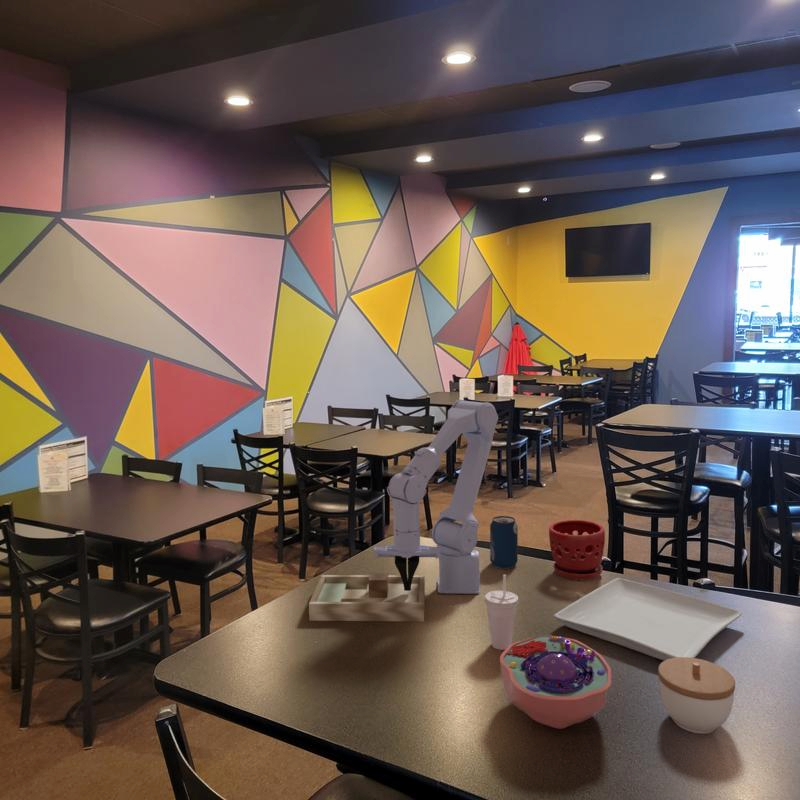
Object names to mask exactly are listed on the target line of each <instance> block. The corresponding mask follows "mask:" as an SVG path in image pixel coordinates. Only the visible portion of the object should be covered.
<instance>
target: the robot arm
mask: <svg viewBox="0 0 800 800" xmlns="http://www.w3.org/2000/svg"><path fill="white" fill-rule="evenodd" d="M445 420H446V421H445V422H444V423H443V424H442V426H441V428H440V429H439V431H438V432H437V433H436V435H435V436H434V438H433V439H432V441H431V442H430V444H429V445H428V447H421V448H420V449H417V450H416V451H415V453H414V454H415V455H414V456H413V457H412V459H411V460H410V461H409V462H408V464H407V465H406V466H405V467H404V468H403V469H402V471H401V472H398V473H396V474H394V475H393V476H392V477H391V478H390V480H389V483H388V486H386V492H387V494H388V496H389V497H390V498H391V499H390V500H391V506H392V508H393V510H392V511H393V512H392V513H393V517H392V518H393V520H392V521H393V545H385V546H374V547H373V559H380V558H394V565H395V567H396V568H397V570H398V573H399V574H400V575H401V578H402V581H403V585H404V591H411V583H412V579H413V576H414V575H415V573H416V571H417V568H418V567H419V563H420V558H435V559H438V563H439V564H438V567H439V568H438V569H439V571H438V573H439V576H438V578H437V593H438V594H457V595H458V594H467V595H468V594H471V595H472V594H473V595H474V594H480V583H481V575H480V555H479V551H478V550H474V549H475V548H476V545H477V543H478V530H479V521H478V520H477V518H476V517H475V516H474V514H473V512H474V507H475V504H476V501H477V497H478V494H479V490H480V487H481V484H482V480H483V476H484V473H485V469H486V467H487V466H486V465H487V462H488V460H489V459H488V458H489V455H490V451H491V449H492V445H493V440H494V439H493V438H494V435H495V430H496V427H497V424H498V420H499V415H498V413H497V410H496V408H495V406H494V405H493V404H492V403H491V402H478V401H471V400H470V401H469V400H465V399H457V400H455V402H453V404H452V406H451V407H450V408H449V409H448V410H447V419H445ZM461 434H462V435H463V437H464V438H465V440H466V441H467V445H466V449H465V451H464V453H465V454H464V455H463V460H462V463H461V466H460V470H459V473H458V477H457V481H456V484H455V487H454V491H453V494H452V497H451V501H450V505H449V506H448V507H447V508H445V509H443V510H441V512H440V513H439V516H438V518H437V520H436V522H435V523H434V524H433V526H432V530H431V538H432V541H433V543H435V544H436V546H430V545H421V523H420V522H421V520H420V519H421V516H420V515H421V514H420V513H421V512H420V508H421V505H420V501H421V500H422V499H424V497H425V495H426V490H427V489H426V488H427V486H428V484H429V481H430V479H431V478H432V477H433V476H434V474H435V472H437V470H438V469H439V468H440V467H441V464H442V457H441V456H443V455H444V453H445V452H446V451H447V450H448V449H449V448H450V447H451V446H452V445H453V443H455V441H456V440H457V439H458V438H459V437H460V436H461ZM458 522H460V523H458ZM407 575H408V579H407Z"/></svg>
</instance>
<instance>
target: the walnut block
mask: <svg viewBox="0 0 800 800" xmlns="http://www.w3.org/2000/svg"><path fill="white" fill-rule="evenodd" d="M369 575H370V576H369V598H387V596H388V575H389V572H387V573H386V572H381V573H380V572H377V573H375V572H370V573H369Z"/></svg>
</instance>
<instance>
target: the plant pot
mask: <svg viewBox="0 0 800 800" xmlns="http://www.w3.org/2000/svg"><path fill="white" fill-rule="evenodd" d="M574 532H577V533H576V534H574ZM605 532H606V531H605V528H604V526H603V525H601V524H599V523H598V522H595V521H589V520H584V519H583V520H582V519H568V520H559V521H556V522H553V523H552V524H550V525H549V528H548V538H549V548H550V551H551V556H552V558H553V560H554V563H553V569H554V571H555V572H556V573H557V574H558V575H559V576H561V577H563V578H566V579H568V580H569V579H570V580H574V581H575V580H577V581H585V580H586V581H587V580H591V579H595V578H598V577H599V576H600V575H601V574H602V573H603V570H604V569H603V568H604V567H603V566H602V564H601V561H602V559H603V557H604V548H605V541H606V537H605V536H606V533H605ZM584 533H587V534H584Z"/></svg>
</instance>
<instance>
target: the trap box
mask: <svg viewBox="0 0 800 800" xmlns="http://www.w3.org/2000/svg"><path fill="white" fill-rule="evenodd" d="M369 576H370V574H367V575H366V574H364V575H363V574H361V575H360V574H321V575H320V577H319V580H318V582H317V584H316V587H315V589H314V591H313V594H312V595H311V598H310V601H309V603H308V615H309V618H308V619H309V620H308V621H311V622H312V621H313V622H314V621H316V622H318V621H319V622H320V621H324V622H330V621H331V622H332V621H333V622H335V621H336V622H425V600H426V599H425V595H426V594H425V593H426V591H425V590H426V583H425V582H426V579H425V578H426V577H425V575H424V574H423V575H422V574H421V575H419V574H418V575H415V574H414V576H413V579H412V583H411V591H404V585H403V581H402V578H401V575H398V574H394V575H393V574H391V575H390V574H388V596H387V598H369ZM407 579H408V574H407Z"/></svg>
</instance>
